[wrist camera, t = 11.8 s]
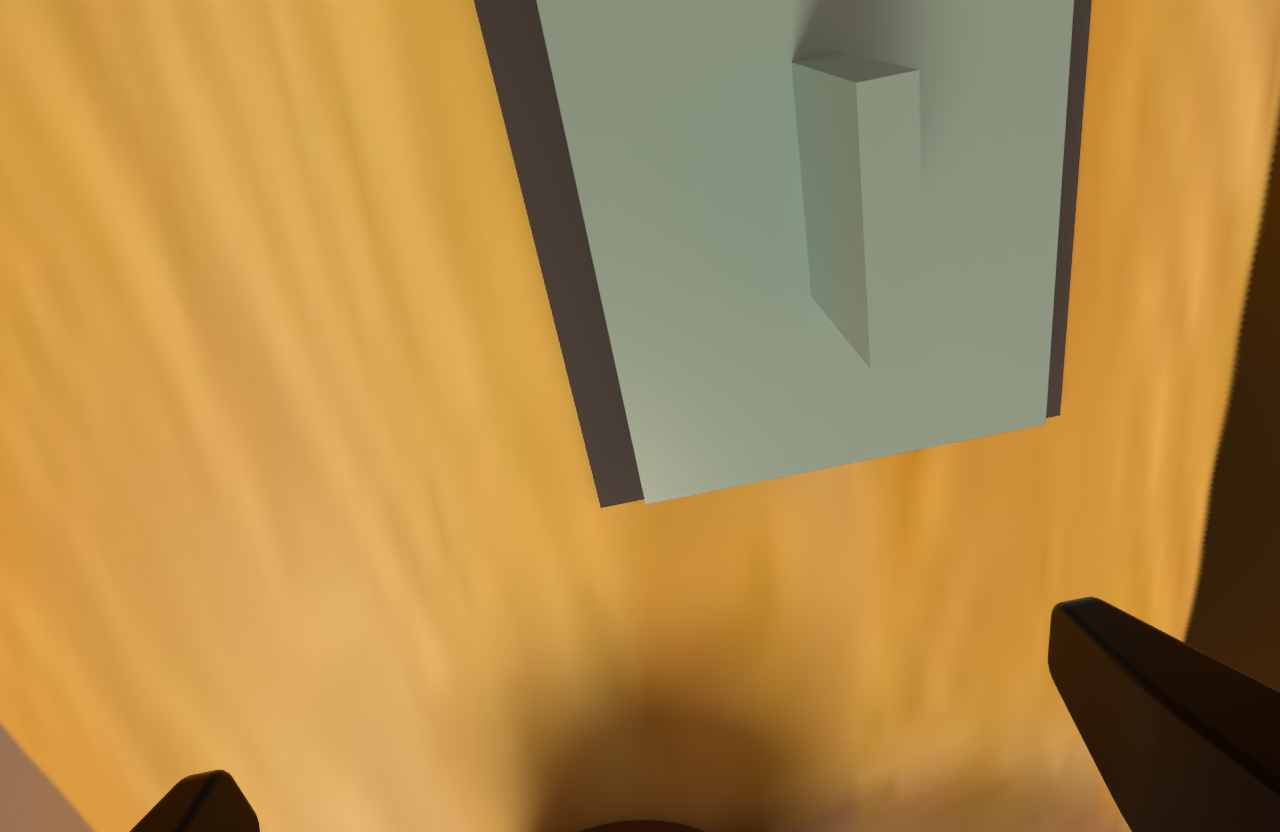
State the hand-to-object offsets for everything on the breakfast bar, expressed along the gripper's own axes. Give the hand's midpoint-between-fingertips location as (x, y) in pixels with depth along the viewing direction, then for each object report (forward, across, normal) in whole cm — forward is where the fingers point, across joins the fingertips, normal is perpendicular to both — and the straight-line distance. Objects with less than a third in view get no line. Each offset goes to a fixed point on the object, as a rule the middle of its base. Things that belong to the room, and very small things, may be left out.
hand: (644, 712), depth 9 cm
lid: (+13, -5, -2) cm, 14 cm away
